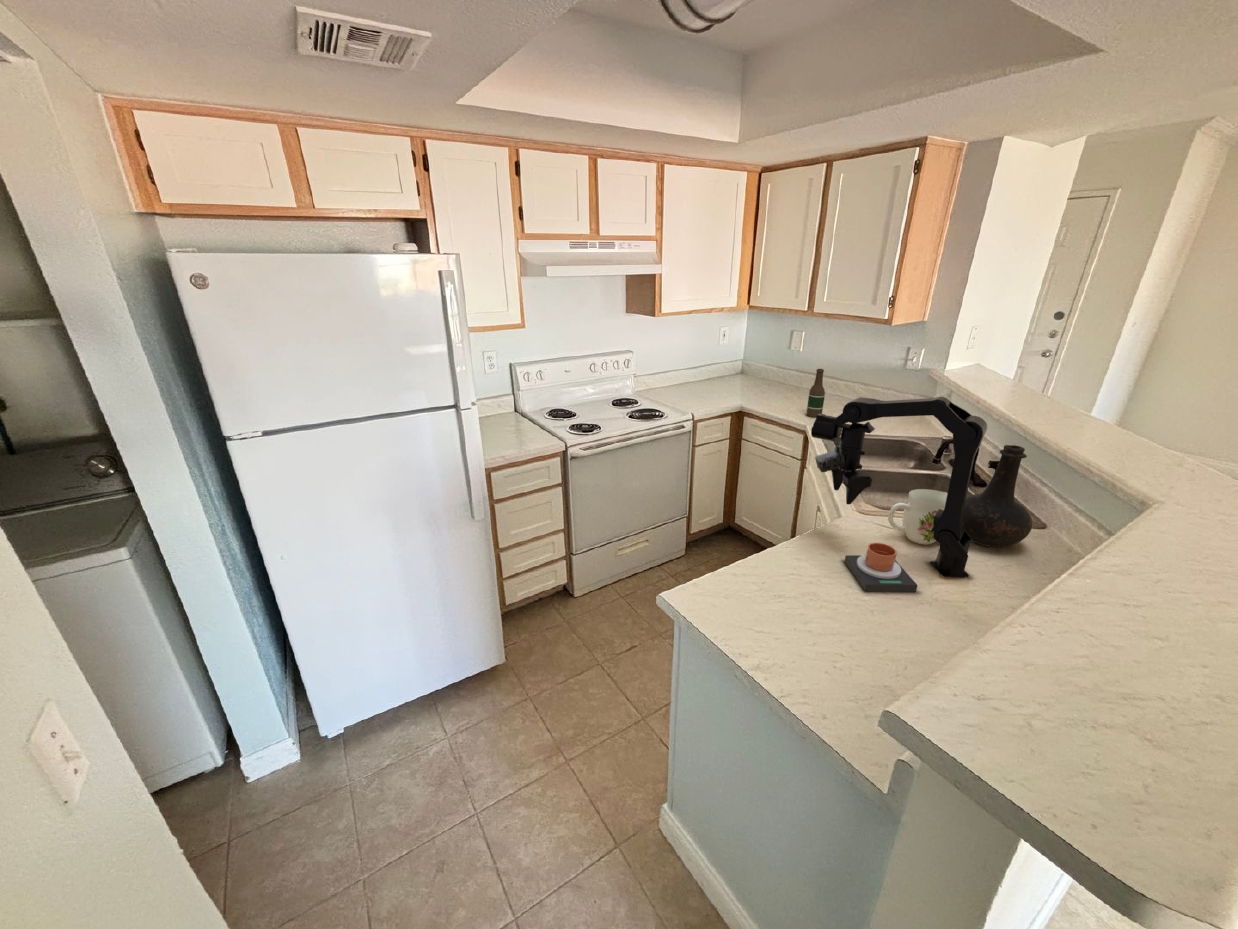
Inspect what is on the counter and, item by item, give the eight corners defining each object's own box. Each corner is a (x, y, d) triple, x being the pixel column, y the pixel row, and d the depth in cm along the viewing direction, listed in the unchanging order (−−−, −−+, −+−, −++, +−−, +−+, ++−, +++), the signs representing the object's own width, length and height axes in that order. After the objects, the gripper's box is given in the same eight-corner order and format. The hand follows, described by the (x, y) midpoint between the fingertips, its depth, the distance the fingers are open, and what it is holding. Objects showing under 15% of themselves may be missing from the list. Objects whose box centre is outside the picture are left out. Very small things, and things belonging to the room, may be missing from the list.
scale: (915, 592, 120) (918, 582, 119) (864, 591, 120) (866, 581, 119) (890, 562, 132) (892, 553, 131) (844, 561, 132) (845, 552, 131)
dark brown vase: (933, 531, 146) (956, 441, 136) (973, 519, 153) (998, 432, 143) (997, 562, 131) (1029, 463, 121) (1038, 547, 138) (1071, 451, 128)
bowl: (897, 572, 123) (901, 556, 121) (871, 572, 123) (874, 556, 121) (885, 558, 129) (889, 542, 127) (860, 557, 129) (863, 542, 127)
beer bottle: (819, 418, 253) (826, 371, 244) (803, 416, 258) (809, 369, 249) (823, 415, 259) (830, 368, 250) (808, 412, 264) (814, 367, 255)
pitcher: (876, 528, 149) (884, 486, 143) (939, 529, 147) (950, 487, 142) (892, 547, 138) (902, 503, 133) (960, 549, 137) (972, 504, 132)
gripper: (810, 433, 144) (803, 483, 150) (833, 457, 127) (824, 511, 133) (849, 433, 144) (840, 483, 150) (878, 457, 127) (867, 512, 132)
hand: (842, 496), depth 141 cm, fingers open, 9 cm apart
